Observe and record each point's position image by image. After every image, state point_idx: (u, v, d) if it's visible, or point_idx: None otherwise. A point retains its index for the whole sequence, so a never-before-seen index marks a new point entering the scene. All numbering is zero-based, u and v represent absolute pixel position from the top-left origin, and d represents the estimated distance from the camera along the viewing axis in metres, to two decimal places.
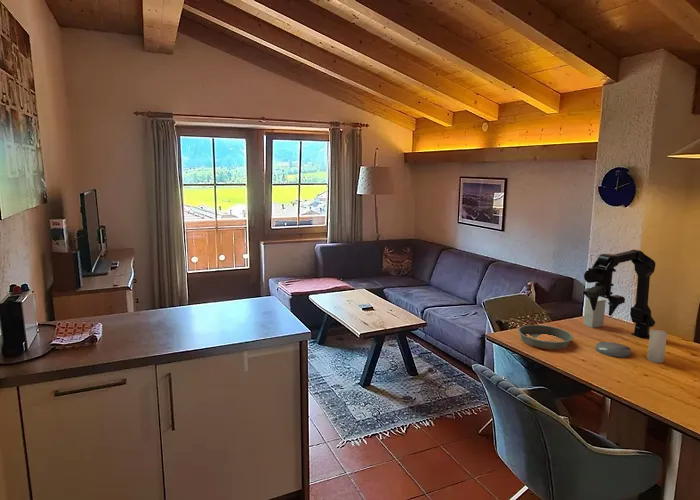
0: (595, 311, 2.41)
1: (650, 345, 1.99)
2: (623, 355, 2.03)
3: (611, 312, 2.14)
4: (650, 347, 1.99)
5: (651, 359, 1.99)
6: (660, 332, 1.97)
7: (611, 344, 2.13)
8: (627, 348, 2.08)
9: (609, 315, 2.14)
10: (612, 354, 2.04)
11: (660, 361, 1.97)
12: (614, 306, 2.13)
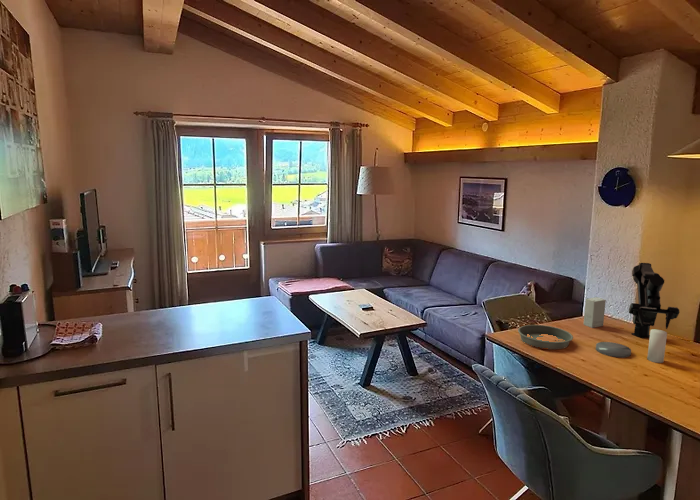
0: (595, 311, 2.41)
1: (650, 345, 1.99)
2: (623, 355, 2.03)
3: (640, 322, 2.09)
4: (650, 347, 1.99)
5: (651, 359, 1.99)
6: (660, 332, 1.97)
7: (611, 344, 2.13)
8: (627, 348, 2.08)
9: (641, 325, 2.08)
10: (612, 354, 2.04)
11: (660, 361, 1.97)
12: (639, 315, 2.10)
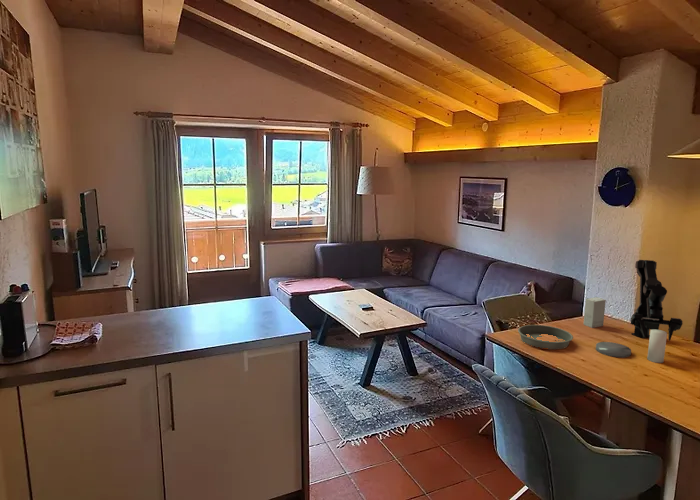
0: (595, 311, 2.41)
1: (650, 345, 1.99)
2: (623, 355, 2.03)
3: (642, 333, 2.03)
4: (650, 347, 1.99)
5: (651, 359, 1.99)
6: (660, 332, 1.97)
7: (611, 344, 2.13)
8: (627, 348, 2.08)
9: (643, 337, 2.02)
10: (612, 354, 2.04)
11: (660, 361, 1.97)
12: (641, 326, 2.04)
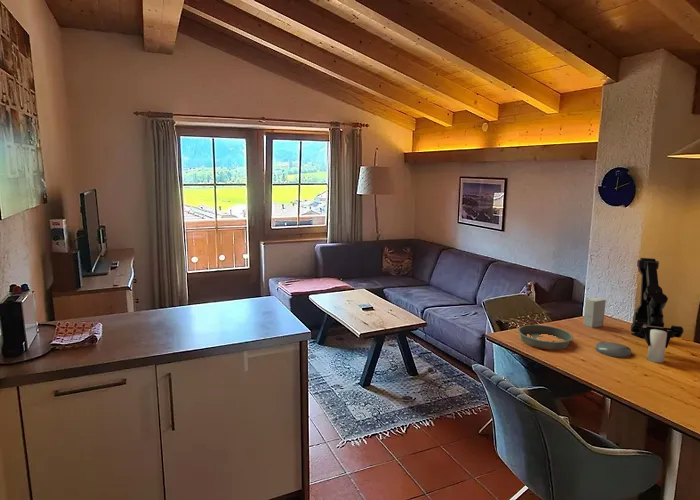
0: (595, 311, 2.41)
1: (650, 345, 1.99)
2: (623, 355, 2.03)
3: (646, 341, 2.01)
4: (650, 347, 1.99)
5: (651, 359, 1.99)
6: (660, 332, 1.97)
7: (611, 344, 2.13)
8: (627, 348, 2.08)
9: (648, 345, 2.00)
10: (612, 354, 2.04)
11: (660, 361, 1.97)
12: (645, 334, 2.02)
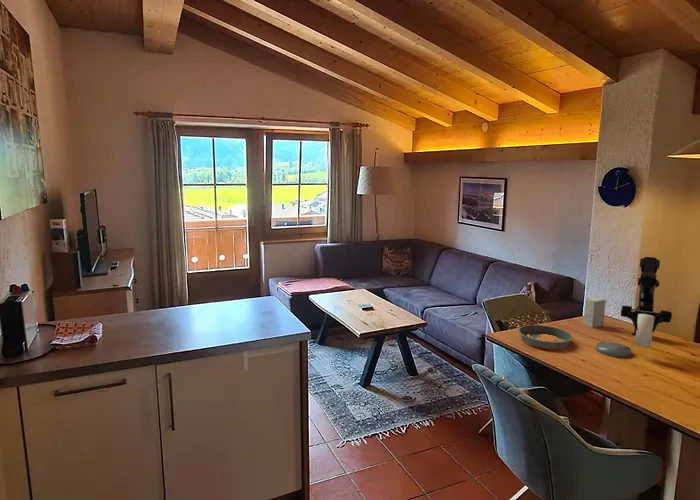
0: (595, 311, 2.41)
1: (637, 329, 2.01)
2: (623, 355, 2.03)
3: (634, 325, 2.02)
4: (637, 331, 2.01)
5: (638, 343, 2.01)
6: (647, 316, 1.99)
7: (611, 344, 2.13)
8: (627, 348, 2.08)
9: (635, 329, 2.02)
10: (612, 354, 2.04)
11: (647, 345, 1.99)
12: None
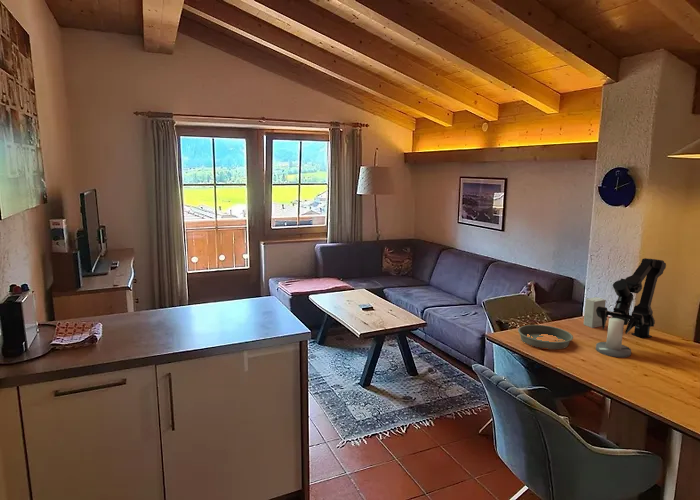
0: (595, 311, 2.41)
1: (607, 332, 2.09)
2: (623, 355, 2.03)
3: None
4: (607, 334, 2.09)
5: (607, 345, 2.09)
6: (617, 320, 2.06)
7: None
8: (627, 348, 2.08)
9: None
10: (612, 354, 2.04)
11: (615, 348, 2.07)
12: None
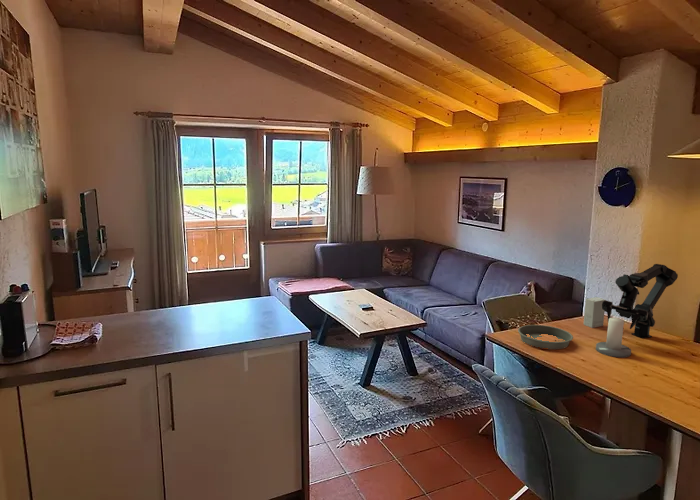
0: (595, 311, 2.41)
1: (607, 332, 2.10)
2: (623, 355, 2.03)
3: None
4: (607, 334, 2.10)
5: (607, 345, 2.09)
6: (616, 320, 2.07)
7: None
8: (627, 348, 2.08)
9: None
10: (612, 354, 2.04)
11: (615, 348, 2.07)
12: None
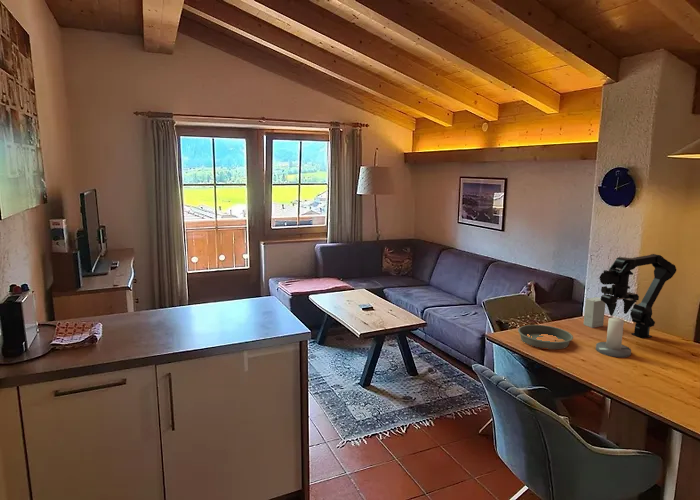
0: (595, 311, 2.41)
1: (607, 332, 2.10)
2: (623, 355, 2.03)
3: (610, 311, 2.24)
4: (607, 334, 2.10)
5: (607, 345, 2.09)
6: (616, 320, 2.07)
7: None
8: (627, 348, 2.08)
9: None
10: (612, 354, 2.04)
11: (615, 348, 2.07)
12: (611, 306, 2.22)
